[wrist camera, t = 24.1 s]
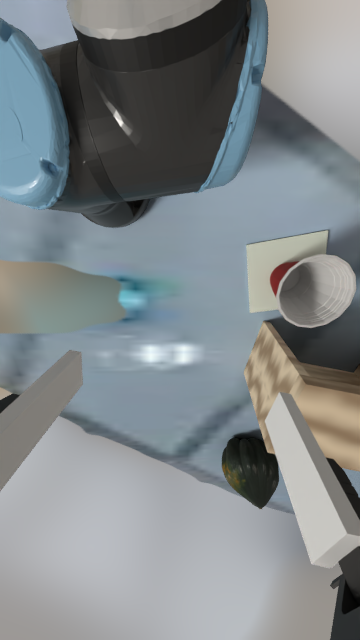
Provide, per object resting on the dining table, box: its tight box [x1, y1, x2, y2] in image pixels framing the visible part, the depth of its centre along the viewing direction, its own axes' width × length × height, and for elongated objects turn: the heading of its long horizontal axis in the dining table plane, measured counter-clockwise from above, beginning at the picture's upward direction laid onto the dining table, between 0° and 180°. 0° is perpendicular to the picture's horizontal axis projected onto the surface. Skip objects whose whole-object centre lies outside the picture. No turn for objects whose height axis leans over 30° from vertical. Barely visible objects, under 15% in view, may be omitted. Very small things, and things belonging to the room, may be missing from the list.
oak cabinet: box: [244, 321, 360, 471], centre depth 38 cm, size 14×26×20 cm, turn 80°
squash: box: [222, 438, 279, 509], centre depth 56 cm, size 14×15×15 cm
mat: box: [246, 230, 328, 313], centre depth 40 cm, size 14×14×1 cm
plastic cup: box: [270, 254, 356, 328], centre depth 34 cm, size 11×11×12 cm
